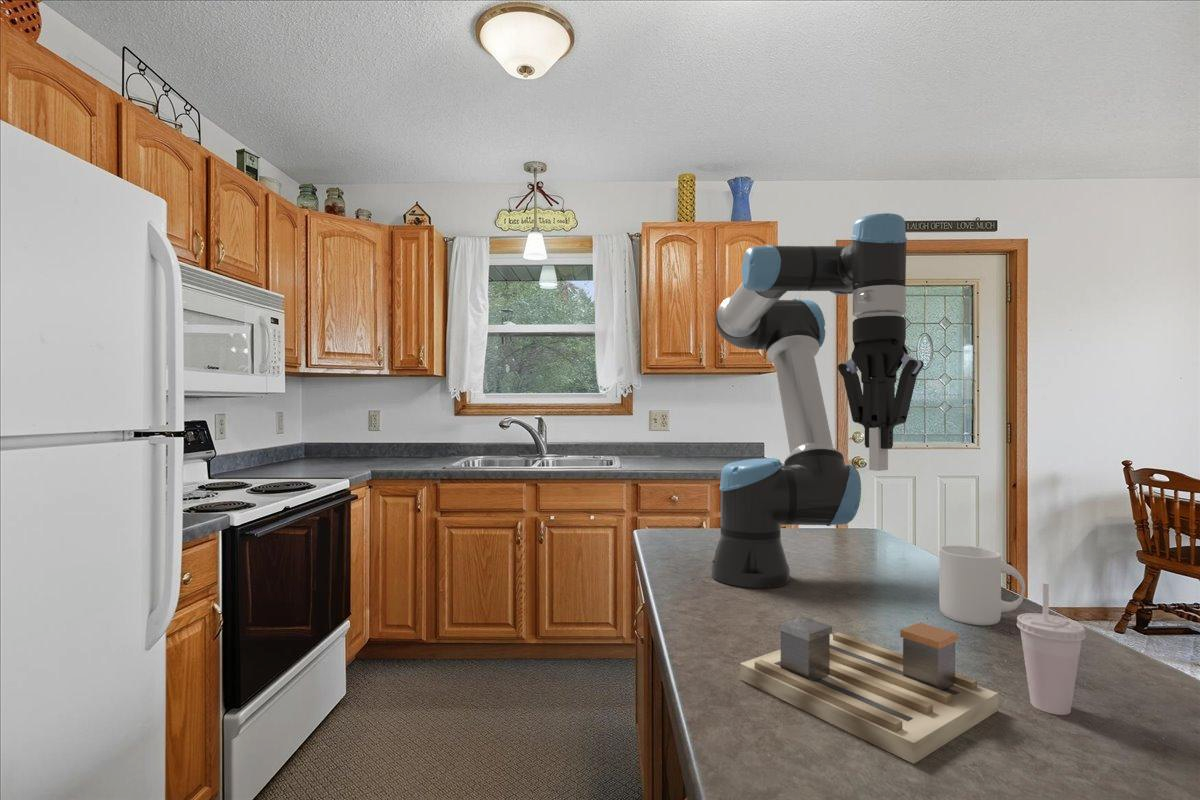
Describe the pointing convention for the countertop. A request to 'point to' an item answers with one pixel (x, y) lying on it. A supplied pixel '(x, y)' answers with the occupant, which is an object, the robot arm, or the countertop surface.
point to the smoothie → (1050, 657)
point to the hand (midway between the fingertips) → (878, 469)
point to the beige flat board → (877, 698)
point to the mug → (974, 584)
